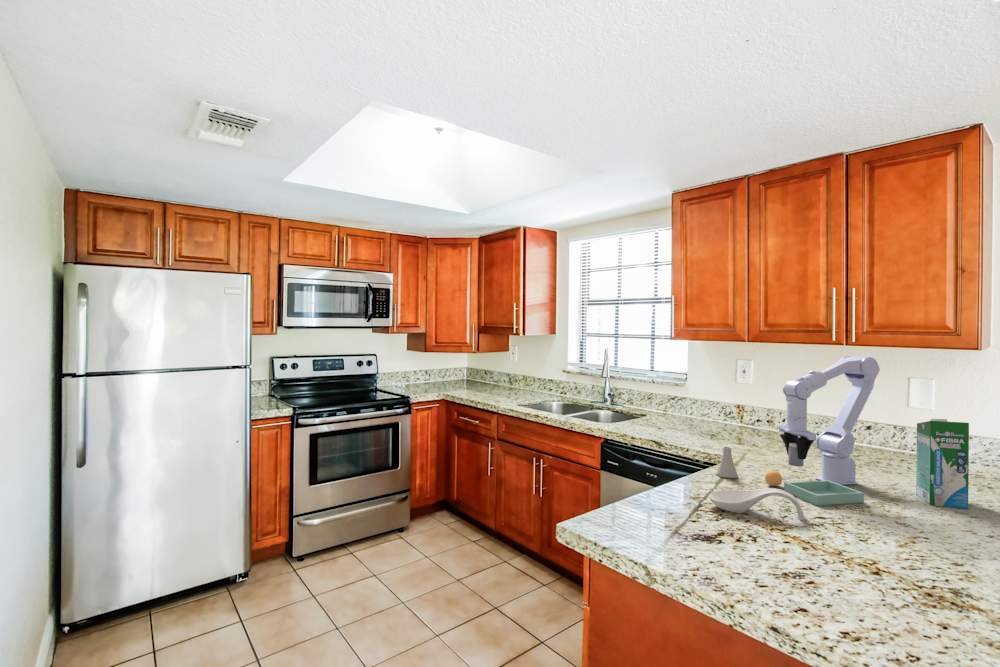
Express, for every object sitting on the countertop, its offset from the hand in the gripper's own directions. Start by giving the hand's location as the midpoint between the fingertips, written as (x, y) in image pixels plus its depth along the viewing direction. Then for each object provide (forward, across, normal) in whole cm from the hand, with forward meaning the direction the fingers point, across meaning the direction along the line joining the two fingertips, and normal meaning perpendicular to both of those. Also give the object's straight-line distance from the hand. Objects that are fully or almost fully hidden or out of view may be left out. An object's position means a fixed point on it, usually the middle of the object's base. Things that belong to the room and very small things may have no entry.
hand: (796, 457), depth 168 cm
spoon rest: (+9, +22, -31) cm, 40 cm away
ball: (+6, +1, -10) cm, 12 cm away
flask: (+9, -12, -18) cm, 23 cm away
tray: (+9, +14, -2) cm, 16 cm away
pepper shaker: (+2, 0, 0) cm, 3 cm away
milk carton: (+9, +22, +30) cm, 39 cm away
